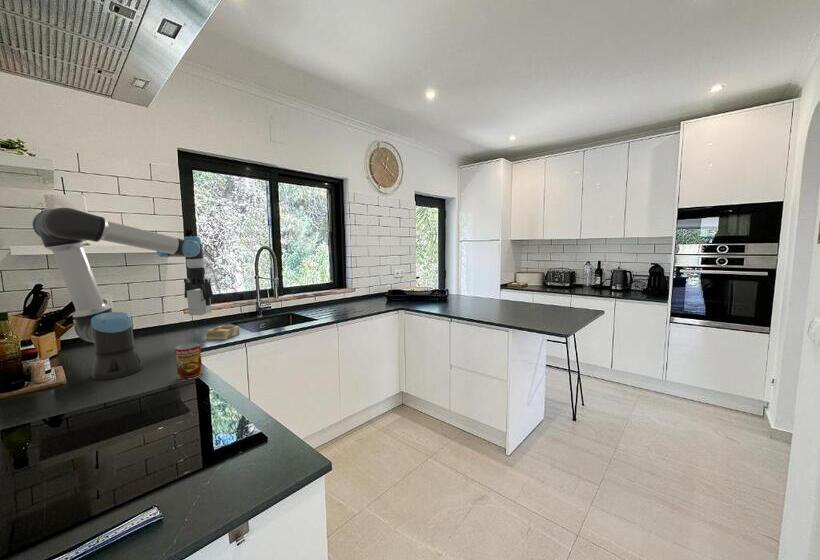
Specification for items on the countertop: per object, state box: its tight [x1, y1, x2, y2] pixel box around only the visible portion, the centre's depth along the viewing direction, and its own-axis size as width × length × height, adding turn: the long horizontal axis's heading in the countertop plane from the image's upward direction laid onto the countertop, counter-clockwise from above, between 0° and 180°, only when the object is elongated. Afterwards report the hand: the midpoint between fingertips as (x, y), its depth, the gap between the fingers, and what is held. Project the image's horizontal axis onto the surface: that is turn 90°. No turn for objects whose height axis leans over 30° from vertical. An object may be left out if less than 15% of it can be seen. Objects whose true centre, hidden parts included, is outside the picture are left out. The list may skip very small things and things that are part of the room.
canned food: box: [174, 342, 203, 380], centre depth 130 cm, size 8×8×12 cm
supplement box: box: [186, 288, 212, 316], centre depth 174 cm, size 7×7×13 cm
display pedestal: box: [205, 325, 240, 340], centre depth 184 cm, size 11×11×4 cm
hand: (200, 311), depth 175 cm, fingers closed on supplement box, 7 cm apart
